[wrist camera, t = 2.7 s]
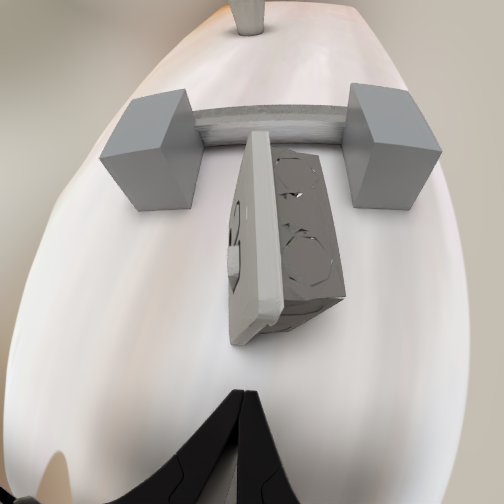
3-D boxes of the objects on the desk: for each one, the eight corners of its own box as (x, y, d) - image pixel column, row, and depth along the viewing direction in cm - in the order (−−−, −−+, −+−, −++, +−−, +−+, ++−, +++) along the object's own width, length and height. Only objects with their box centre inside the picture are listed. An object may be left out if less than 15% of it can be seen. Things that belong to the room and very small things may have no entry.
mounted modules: (409, 210, 20) (442, 151, 14) (138, 211, 23) (98, 158, 16) (389, 147, 23) (407, 90, 17) (158, 151, 26) (132, 98, 19)
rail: (396, 155, 22) (406, 128, 19) (151, 159, 25) (137, 134, 22) (390, 139, 23) (398, 112, 20) (157, 143, 26) (145, 119, 23)
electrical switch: (229, 221, 21) (216, 125, 13) (297, 219, 21) (318, 125, 13) (230, 347, 17) (205, 319, 9) (309, 343, 17) (360, 312, 9)
